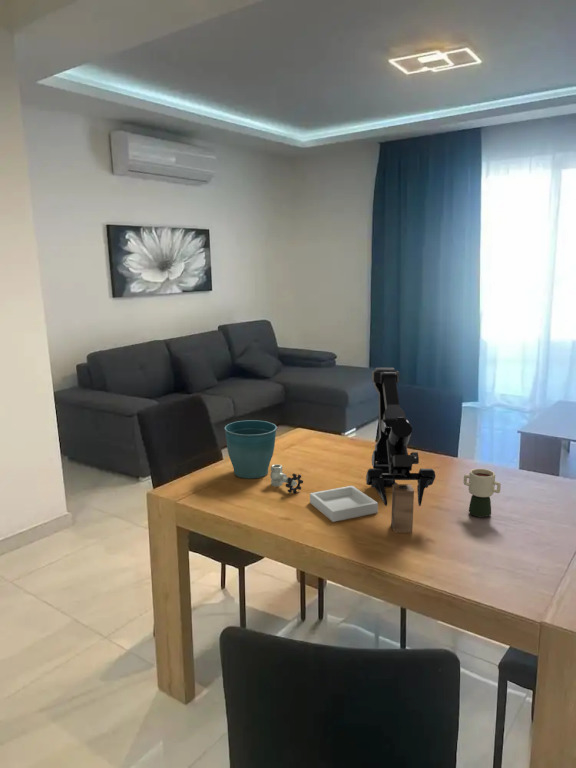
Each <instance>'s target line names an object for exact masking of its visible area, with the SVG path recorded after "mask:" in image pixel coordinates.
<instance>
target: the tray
mask: <svg viewBox="0 0 576 768" xmlns="http://www.w3.org/2000/svg"><path fill="white" fill-rule="evenodd" d="M309 504H311V505H312V507H313V506H314V507H315V509H317V510H318V511H319V512H321V513H322V514H323V515H324V516H325V517H326V518H327V519H329V520H330V521H331V522H332V523H334V522H338V521H345V520H350V519H353V518H358V517H363V516H368V515H373V514H377V513H379V511H378V510H379V502H377V501H376V500H374V499H373V498H371V497H370V496H368V495H367V494H366V493H364V492H362V491H361V490H359V489H358V488H357V487H355V486H354V485H348V486H343V487H336V488H332V489H326V490H320V491H315V492H310V493H309Z"/></svg>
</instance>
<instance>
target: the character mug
mask: <svg viewBox="0 0 576 768" xmlns="http://www.w3.org/2000/svg"><path fill="white" fill-rule="evenodd" d="M463 485H464V486H468V492H469V494H471V497H470V502H469V506H468V507H469V508H468V512H469V514H470V515H472V516H474V517H478V518H484V517H489V516H490V515H492V504H491V503H492V502H491V497H493V496H494V495H493V494H494V493H495V494H500V493H501V488H502V487H501V482H499V481H496V472H494V471H493V470H490V469H487V468H486V469H485V468H472V469H470V471H469V474H464V475H463ZM495 486H497V487H495Z"/></svg>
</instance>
